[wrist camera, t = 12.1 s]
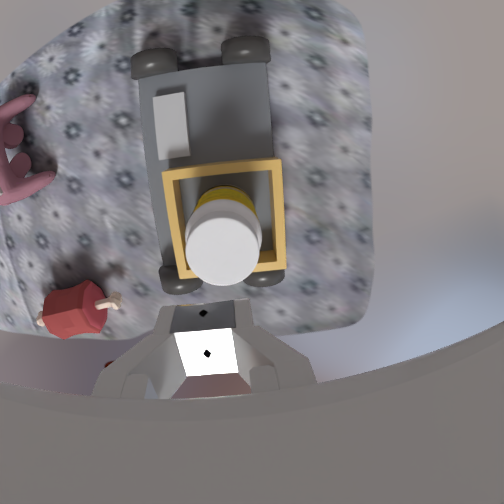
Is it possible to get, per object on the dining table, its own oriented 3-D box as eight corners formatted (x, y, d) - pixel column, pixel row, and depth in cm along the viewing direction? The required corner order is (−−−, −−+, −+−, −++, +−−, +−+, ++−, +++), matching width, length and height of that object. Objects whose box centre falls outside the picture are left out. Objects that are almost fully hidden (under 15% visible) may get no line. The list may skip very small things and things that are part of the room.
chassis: (166, 276, 26) (158, 296, 23) (138, 65, 19) (124, 55, 15) (280, 265, 26) (288, 284, 23) (266, 49, 19) (271, 35, 16)
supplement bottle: (191, 188, 22) (169, 215, 14) (251, 179, 22) (262, 202, 14) (201, 244, 24) (188, 297, 16) (257, 237, 24) (270, 286, 16)
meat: (112, 262, 25) (100, 301, 21) (136, 297, 28) (130, 336, 24) (33, 288, 25) (18, 322, 21) (57, 316, 28) (46, 349, 24)
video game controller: (22, 108, 20) (-33, 126, 14) (37, 87, 18) (-25, 103, 12) (44, 191, 23) (-10, 219, 18) (61, 179, 21) (-1, 209, 16)
